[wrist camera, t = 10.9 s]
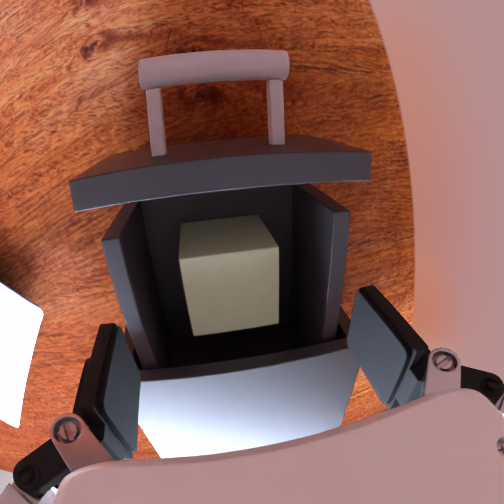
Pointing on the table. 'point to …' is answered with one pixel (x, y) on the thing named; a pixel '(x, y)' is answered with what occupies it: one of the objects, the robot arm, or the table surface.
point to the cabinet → (247, 398)
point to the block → (229, 274)
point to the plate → (15, 349)
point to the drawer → (223, 215)
